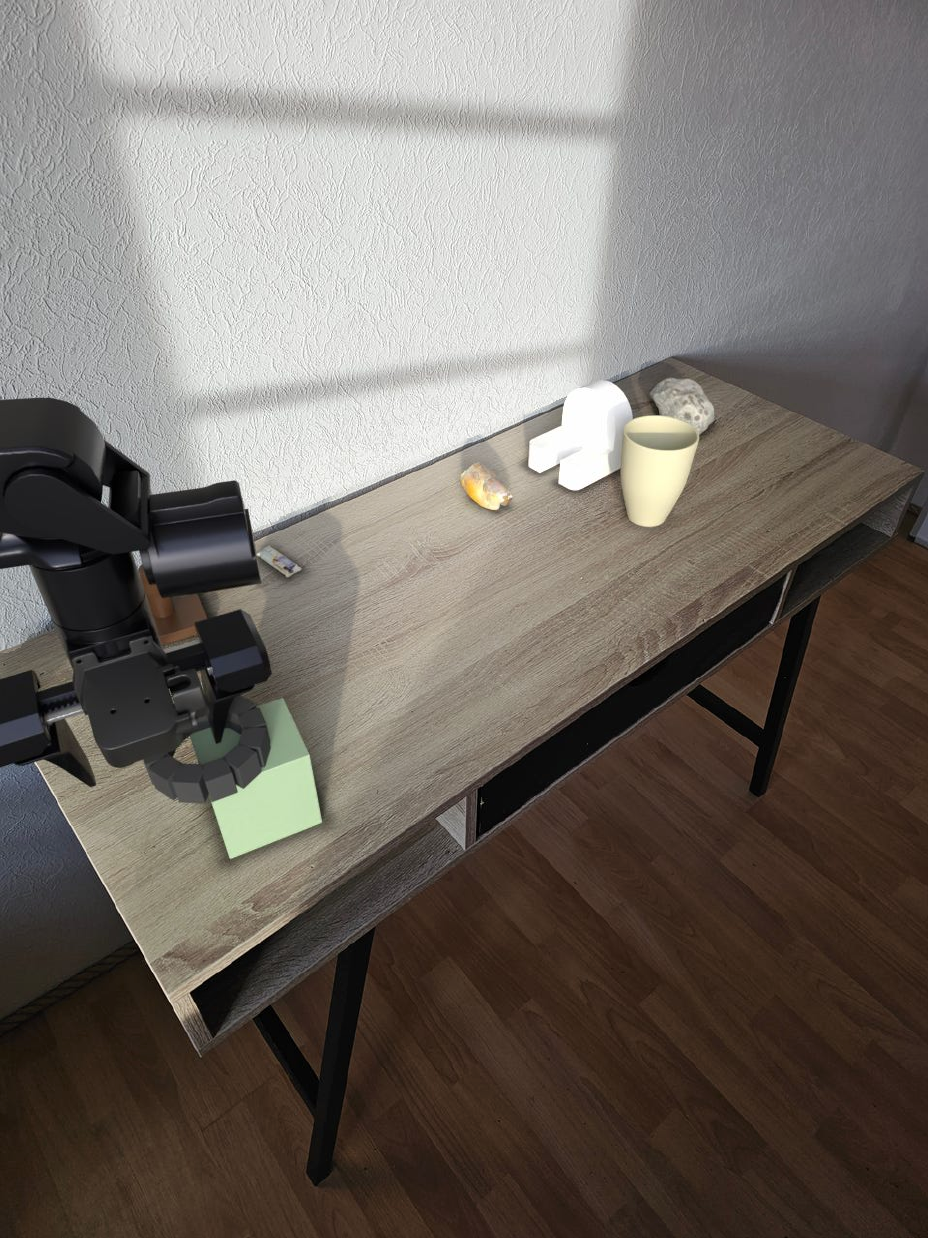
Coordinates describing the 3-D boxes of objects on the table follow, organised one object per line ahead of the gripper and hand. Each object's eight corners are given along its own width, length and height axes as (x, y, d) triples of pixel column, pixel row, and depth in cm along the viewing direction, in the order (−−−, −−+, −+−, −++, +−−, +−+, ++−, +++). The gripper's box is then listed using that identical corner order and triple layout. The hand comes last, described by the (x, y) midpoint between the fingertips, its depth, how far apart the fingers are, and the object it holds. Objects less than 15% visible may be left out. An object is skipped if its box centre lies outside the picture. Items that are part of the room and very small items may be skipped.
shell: (522, 503, 109) (521, 485, 104) (499, 526, 108) (497, 510, 103) (478, 469, 111) (475, 451, 107) (455, 491, 110) (452, 474, 106)
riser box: (230, 859, 67) (208, 792, 62) (209, 797, 72) (187, 729, 66) (322, 823, 70) (310, 754, 64) (296, 765, 75) (283, 697, 69)
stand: (135, 653, 86) (116, 600, 81) (122, 609, 91) (104, 557, 87) (211, 630, 89) (197, 578, 84) (194, 589, 94) (180, 537, 90)
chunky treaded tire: (162, 821, 60) (154, 801, 58) (139, 735, 66) (131, 714, 64) (284, 775, 63) (280, 755, 61) (251, 697, 69) (246, 677, 67)
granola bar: (254, 556, 99) (252, 549, 98) (270, 548, 100) (268, 541, 99) (288, 581, 95) (286, 573, 95) (304, 572, 96) (303, 565, 96)
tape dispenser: (524, 464, 116) (528, 393, 109) (608, 424, 125) (617, 356, 118) (574, 492, 110) (582, 418, 103) (658, 448, 119) (671, 378, 112)
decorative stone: (628, 410, 128) (632, 379, 125) (679, 394, 133) (685, 364, 130) (682, 442, 121) (689, 411, 117) (735, 424, 125) (742, 393, 122)
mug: (701, 520, 105) (721, 436, 97) (642, 544, 101) (658, 458, 93) (644, 482, 112) (658, 400, 104) (587, 503, 108) (597, 419, 100)
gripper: (-65, 739, 43) (35, 897, 53) (279, 634, 50) (309, 793, 60) (-68, 616, 51) (20, 775, 61) (231, 538, 57) (265, 694, 67)
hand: (156, 760), depth 62 cm, fingers open, 9 cm apart
